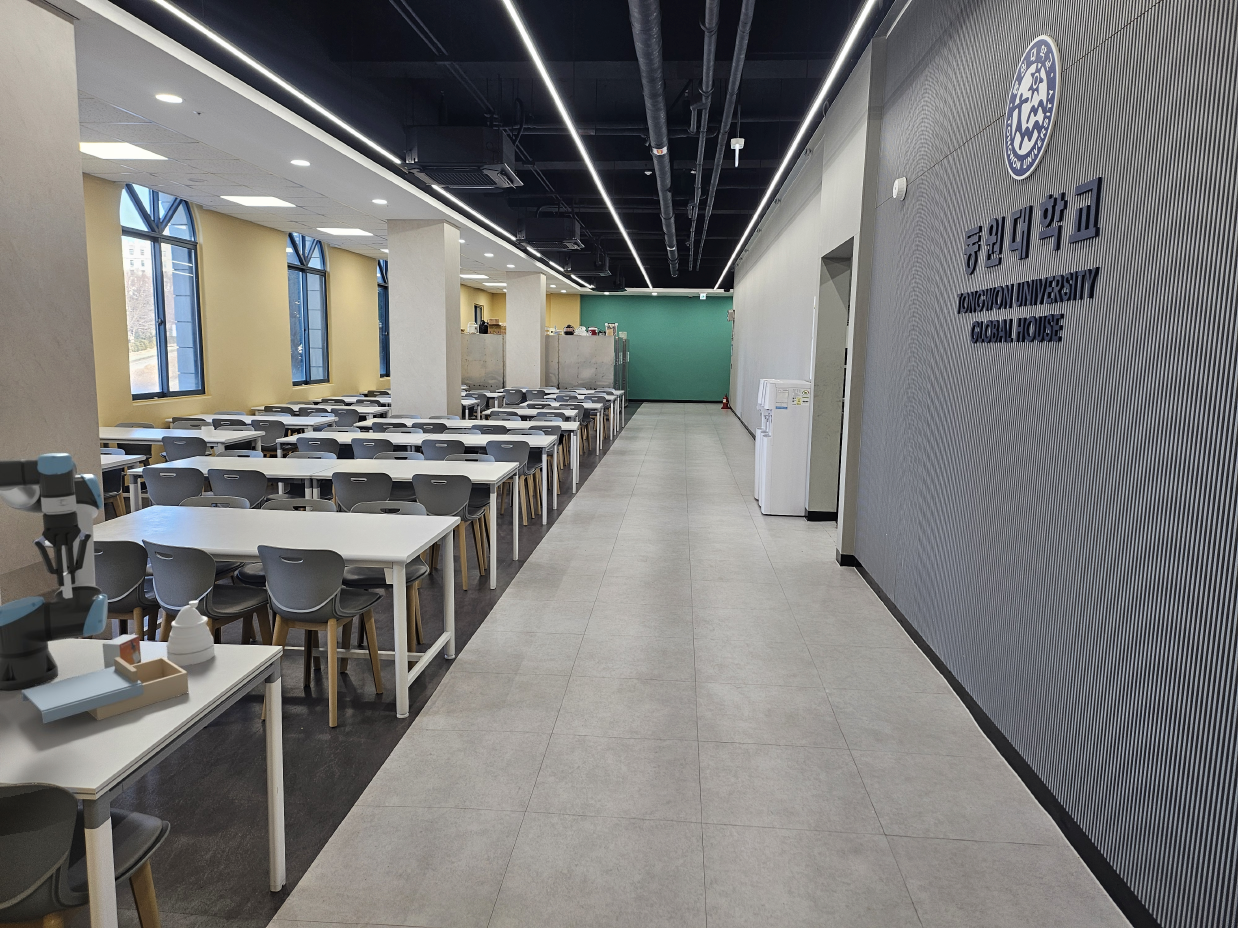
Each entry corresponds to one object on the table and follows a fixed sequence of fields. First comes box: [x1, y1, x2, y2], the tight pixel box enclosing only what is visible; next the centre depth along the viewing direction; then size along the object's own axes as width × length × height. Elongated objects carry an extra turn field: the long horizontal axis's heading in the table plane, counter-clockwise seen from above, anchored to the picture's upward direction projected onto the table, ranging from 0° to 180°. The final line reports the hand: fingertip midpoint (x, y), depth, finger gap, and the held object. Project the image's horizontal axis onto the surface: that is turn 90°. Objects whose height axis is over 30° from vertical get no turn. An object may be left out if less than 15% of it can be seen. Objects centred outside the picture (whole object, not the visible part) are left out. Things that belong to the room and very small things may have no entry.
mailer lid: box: [21, 657, 143, 724], centre depth 204 cm, size 19×22×6 cm
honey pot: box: [166, 600, 215, 666], centre depth 241 cm, size 13×13×18 cm
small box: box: [102, 634, 142, 669], centre depth 229 cm, size 8×6×10 cm
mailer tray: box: [87, 656, 190, 721], centre depth 213 cm, size 17×22×6 cm
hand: (67, 596), depth 210 cm, fingers closed
